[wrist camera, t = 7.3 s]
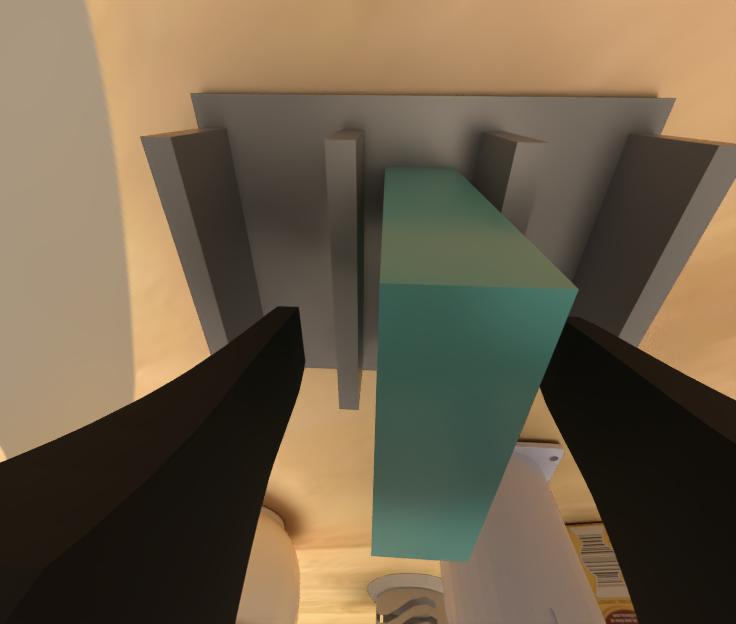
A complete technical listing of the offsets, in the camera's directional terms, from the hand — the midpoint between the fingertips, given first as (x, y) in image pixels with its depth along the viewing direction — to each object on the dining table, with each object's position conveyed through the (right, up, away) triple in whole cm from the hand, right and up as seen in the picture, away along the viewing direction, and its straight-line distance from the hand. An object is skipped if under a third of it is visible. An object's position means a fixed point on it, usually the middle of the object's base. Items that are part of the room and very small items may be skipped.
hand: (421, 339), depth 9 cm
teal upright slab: (0, +3, +4) cm, 5 cm away
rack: (0, +3, +5) cm, 6 cm away
